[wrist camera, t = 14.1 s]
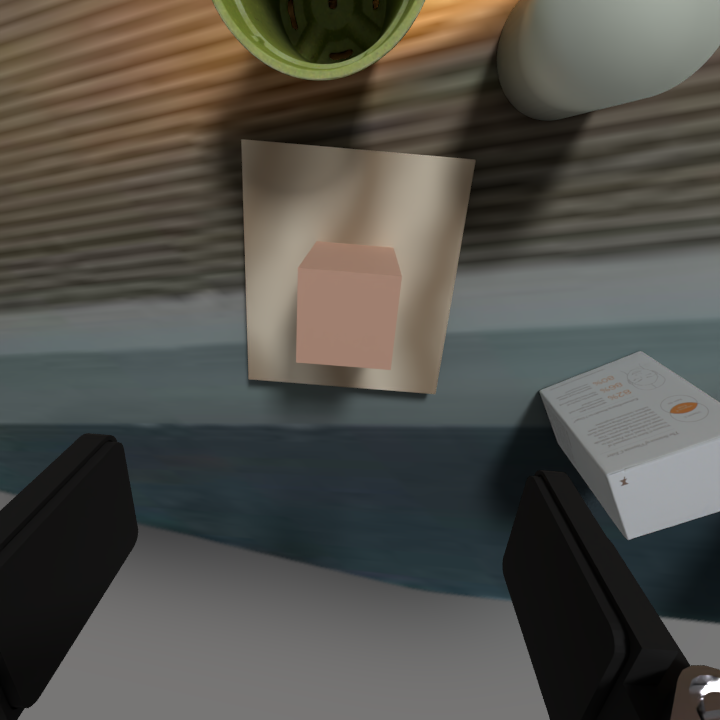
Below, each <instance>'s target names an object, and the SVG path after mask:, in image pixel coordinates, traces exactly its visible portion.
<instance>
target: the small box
mask: <svg viewBox="0 0 720 720" xmlns="http://www.w3.org/2000/svg"><path fill="white" fill-rule="evenodd" d="M539 392H540V395H541V398H542V400H543V403H544V406H545V409H546V412H547V414H548V417H549V420H550V423H551V426H552V428H553V431H554V434H555V437H556V439H557V442H558V444H559V446H560V447H561V448H562V450H563V451H564V453H565V454H566V455H567V457H568V458H569V460H570V461H571V463H572V464H573V465H574V467H575V468H576V470H577V471H578V472H579V474H580V475H581V477H582V478H583V479H584V481H585V482H586V484H587V485H588V486H589V488H590V489H591V491H592V492H593V493H594V495H595V496H596V498H597V499H598V500H599V502H600V503H601V504H602V506H603V507H604V509H605V510H606V512H607V513H608V515H609V516H610V517H611V519H612V520H613V522H614V523H615V524H616V526H617V527H618V529H619V530H620V531H621V533H622V534H623V535H624V536H625V538H626V539H628V540H630V539H633V538H636V537H639V536H642V535H645V534H648V533H652V532H655V531H658V530H661V529H664V528H668V527H671V526H674V525H677V524H680V523H683V522H687V521H690V520H693V519H696V518H700V517H703V516H706V515H709V514H713V513H716V512H719V511H720V402H718V401H717V400H715V399H713V398H712V397H710V396H709V395H707V394H706V393H704V392H703V391H701V390H700V389H698V388H697V387H695V386H694V385H692V384H691V383H689V382H688V381H686V380H685V379H683V378H681V377H680V376H678V375H677V374H675V373H674V372H672V371H671V370H669V369H668V368H666V367H665V366H663V365H662V364H660V363H658V362H657V361H655V360H654V359H652V358H651V357H649V356H648V355H646V354H645V353H643V352H642V351H639V352H636V353H634V354H631V355H629V356H626V357H624V358H621V359H619V360H616V361H613V362H611V363H608V364H606V365H603V366H601V367H598V368H596V369H593V370H590V371H588V372H585V373H583V374H580V375H577V376H575V377H572V378H570V379H567V380H565V381H562V382H560V383H557V384H555V385H552V386H550V387H547V388H544V389H542V390H540V391H539Z"/></svg>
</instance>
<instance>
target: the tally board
mask: <svg viewBox="0 0 720 720" xmlns="http://www.w3.org/2000/svg"><path fill="white" fill-rule="evenodd" d="M241 145H242V177H243V210H244V242H245V275H246V307H247V340H248V372H249V379H252V380H264V381H277V382H289V383H302V384H315V385H327V386H340V387H352V388H365V389H377V390H390V391H402V392H415V393H427V394H435V393H436V387H437V382H438V376H439V370H440V364H441V358H442V353H443V347H444V341H445V335H446V329H447V323H448V318H449V312H450V306H451V300H452V294H453V289H454V283H455V277H456V271H457V265H458V260H459V254H460V248H461V242H462V236H463V231H464V225H465V219H466V213H467V207H468V202H469V196H470V190H471V184H472V178H473V173H474V167H475V161H476V160H473V159H462V158H450V157H439V156H428V155H416V154H405V153H393V152H382V151H370V150H359V149H347V148H336V147H325V146H313V145H302V144H290V143H279V142H267V141H256V140H244V139H241ZM316 241H322V242H334V243H345V244H357V245H369V246H381V247H393V248H394V251H395V254H396V258H397V261H398V264H399V268H400V271H401V275H402V281H401V289H400V297H399V305H398V314H397V322H396V330H395V339H394V347H393V355H392V364H391V370H384V369H371V368H359V367H347V366H334V365H322V364H309V363H297V362H296V339H297V287H298V267H299V265H300V264H301V263H302V261H303V260H304V258H305V257H306V255H307V254H308V253H309V251H310V250H311V248H312V247H313V246H314V244H315V243H316Z"/></svg>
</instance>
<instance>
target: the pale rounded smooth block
mask: <svg viewBox="0 0 720 720" xmlns="http://www.w3.org/2000/svg"><path fill="white" fill-rule="evenodd" d="M719 46H720V0H519V1H518V3H517V4H516V5H515V7H514V8H513V10H512V11H511V13H510V15H509V16H508V18H507V20H506V22H505V25H504V27H503V30H502V33H501V36H500V40H499V44H498V51H497V71H498V77H499V81H500V84H501V87H502V90H503V92H504V94H505V96H506V97H507V99H508V100H509V102H510V103H511V104H512V105H513V106H514V107H515V108H516V109H517V110H518V111H520V112H521V113H522V114H524V115H526V116H528V117H530V118H533V119H537V120H543V121H552V120H559V119H563V118H567V117H571V116H575V115H579V114H583V113H587V112H591V111H595V110H599V109H603V108H608V107H612V106H616V105H620V104H624V103H628V102H632V101H636V100H640V99H644V98H648V97H651V96H655V95H658V94H660V93H663V92H665V91H668V90H669V89H671V88H673V87H675V86H677V85H678V84H680V83H681V82H683V81H684V80H686V79H687V78H689V77H690V76H691V75H692V74H693V73H695V72H696V71H697V70H698V69H699V68H700V67H701V66H702V65H703V64H704V63H705V62H706V61H707V60H708V59H709V58H710V57H711V56H712V55H713V53H714V52H715V51H716V49H717V48H718V47H719Z"/></svg>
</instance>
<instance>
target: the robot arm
mask: <svg viewBox="0 0 720 720" xmlns="http://www.w3.org/2000/svg"><path fill="white" fill-rule="evenodd" d="M137 536H138V526H137V521H136V515H135V509H134V504H133V498H132V492H131V487H130V481H129V475H128V470H127V464H126V459H125V453H124V448H123V445H122V444H121V443H119V442H117V440H116V438H115V437H114V436H112V435H101V434H89V433H87V434H84V435H82V436H81V437H79V438H78V439H77V440H76V441H75V442H74V443H73V444H72V445H71V446H70V447H69V448H68V449H66V450H65V451H64V452H63V453H62V454H61V455H60V456H59V457H58V458H57V459H56V460H55V461H54V462H52V463H51V464H50V465H49V466H48V467H47V468H46V469H45V470H44V471H43V472H42V473H41V474H39V475H38V476H37V477H36V478H35V479H34V480H33V481H32V482H31V483H30V484H29V485H28V486H27V487H25V488H24V489H23V490H22V491H21V492H20V493H19V494H18V495H17V496H16V497H15V498H14V499H13V500H11V501H10V502H9V503H8V504H7V505H6V506H5V507H4V508H3V509H2V510H1V511H0V720H17V719H18V717H19V716H20V714H21V713H22V711H23V710H24V708H29V707H31V706H32V705H33V704H34V703H35V702H36V701H37V700H38V698H39V697H40V696H41V694H42V692H43V691H44V689H45V687H46V686H47V684H48V683H49V681H50V680H51V678H52V676H53V675H54V673H55V671H56V670H57V668H58V667H59V665H60V663H61V662H62V660H63V659H64V657H65V656H66V654H67V652H68V651H69V649H70V648H71V646H72V645H73V643H74V641H75V640H76V638H77V637H78V635H79V633H80V632H81V630H82V629H83V627H84V625H85V624H86V622H87V621H88V619H89V617H90V616H91V614H92V613H93V611H94V609H95V608H96V606H97V605H98V603H99V601H100V600H101V598H102V597H103V595H104V593H105V592H106V590H107V589H108V587H109V585H110V584H111V582H112V581H113V579H114V577H115V576H116V574H117V573H118V571H119V570H120V568H121V566H122V565H123V563H124V561H125V560H126V558H127V557H128V555H129V554H130V552H131V550H132V549H133V547H134V545H135V543H136V540H137ZM503 574H504V578H505V581H506V584H507V587H508V590H509V593H510V596H511V599H512V603H513V606H514V609H515V612H516V615H517V618H518V621H519V624H520V627H521V631H522V633H523V637H524V640H525V643H526V646H527V649H528V652H529V655H530V658H531V662H532V664H533V668H534V670H535V674H536V677H537V680H538V683H539V687H540V690H541V693H542V696H543V699H544V702H545V705H546V708H547V711H548V714H549V718H550V720H720V670H719V669H716V668H712V667H708V666H705V665H691V666H690V664H689V663H688V661H687V660H686V658H685V656H684V655H683V653H682V652H681V650H680V649H679V647H678V646H677V644H676V642H675V641H674V639H673V638H672V636H671V635H670V633H669V632H668V630H667V628H666V627H665V625H664V624H663V622H662V620H661V619H660V617H659V616H658V614H657V613H656V611H655V609H654V608H653V606H652V605H651V603H650V602H649V600H648V598H647V597H646V595H645V594H644V592H643V591H642V589H641V587H640V586H639V584H638V583H637V581H636V580H635V578H634V576H633V575H632V573H631V572H630V570H629V569H628V567H627V566H626V564H625V562H624V561H623V559H622V558H621V556H620V555H619V553H618V551H617V550H616V548H615V547H614V545H613V544H612V543H611V541H610V540H609V539H608V538H607V537H606V535H605V533H604V532H603V530H602V529H601V527H600V526H599V524H598V522H597V521H596V519H595V518H594V516H593V515H592V513H591V511H590V510H589V508H588V507H587V505H586V503H585V502H584V500H583V499H582V497H581V496H580V494H579V492H578V491H577V489H576V488H575V486H574V485H573V483H572V481H571V480H570V478H569V477H568V475H567V474H566V473H564V472H556V471H544V470H539V471H537V472H536V473H535V475H534V476H529V477H528V478H527V481H526V484H525V487H524V491H523V494H522V497H521V501H520V504H519V507H518V511H517V514H516V517H515V521H514V524H513V527H512V531H511V534H510V537H509V541H508V544H507V547H506V551H505V554H504V557H503Z"/></svg>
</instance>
